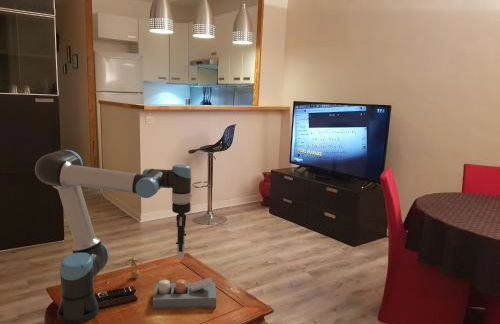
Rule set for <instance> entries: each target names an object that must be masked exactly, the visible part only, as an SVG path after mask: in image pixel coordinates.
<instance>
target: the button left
mask: <svg viewBox="0 0 500 324" xmlns="http://www.w3.org/2000/svg"><path fill="white" fill-rule="evenodd" d="M158 283H159V294H161V295H163V294H168V293H169V292H170V283H171V281H170V280H168V279H162V280H159V281H158Z"/></svg>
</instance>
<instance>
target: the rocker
mask: <svg viewBox="0 0 500 324" xmlns="http://www.w3.org/2000/svg"><path fill="white" fill-rule="evenodd" d="M212 280H213V279H212V276H210V277H207V278H204V279H201V280H198V281H195V282H190V283H191V292H194V291H197V290H200V289H201V290H203V288H206V287H209V286H212V282H213V281H212Z"/></svg>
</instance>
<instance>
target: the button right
mask: <svg viewBox="0 0 500 324" xmlns="http://www.w3.org/2000/svg"><path fill="white" fill-rule="evenodd" d="M174 283H175V293H177V294H184V293H186V283H187V280H186V279H183V278H182V279H180V278H179V279H177V280H176V281H175V282H174Z"/></svg>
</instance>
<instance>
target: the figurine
mask: <svg viewBox="0 0 500 324" xmlns="http://www.w3.org/2000/svg"><path fill="white" fill-rule="evenodd" d="M128 262H131V263H130V265H131V266H130V267H131V270H132V271H131V272H130V277H131V278H132V279H138V277H139V276H140V271H139V270H138V269H137V267H138V263H137V262H139V263H140V264H141V265H142V266H143V265H144V264H143V262H141V261H140V260H139V259H137V258H136V257H135V255H133V256H132V257H131V258H130V259H128V260H126V262H125V266H126V265H127V263H128ZM134 267H135V268H134Z"/></svg>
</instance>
